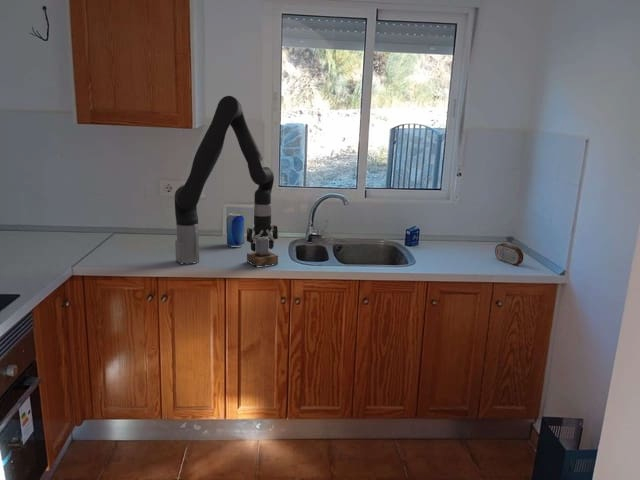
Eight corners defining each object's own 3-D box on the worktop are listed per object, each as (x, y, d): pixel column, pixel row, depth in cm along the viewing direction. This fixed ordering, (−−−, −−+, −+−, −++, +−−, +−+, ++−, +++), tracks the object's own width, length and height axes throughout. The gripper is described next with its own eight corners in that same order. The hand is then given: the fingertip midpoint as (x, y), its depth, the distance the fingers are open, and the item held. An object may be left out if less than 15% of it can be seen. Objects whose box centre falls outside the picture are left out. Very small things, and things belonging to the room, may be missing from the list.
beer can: (235, 249, 259) (235, 216, 255) (223, 246, 264) (222, 214, 260) (247, 245, 266) (247, 214, 262) (235, 242, 271) (235, 211, 267)
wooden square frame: (257, 267, 231) (257, 259, 230) (246, 262, 239) (246, 253, 238) (277, 264, 237) (277, 255, 236) (266, 258, 245) (266, 250, 244)
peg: (260, 265, 236) (260, 240, 233) (255, 262, 239) (255, 238, 236) (268, 263, 238) (268, 239, 235) (263, 261, 241) (263, 237, 238)
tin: (522, 266, 246) (525, 248, 244) (518, 267, 245) (520, 249, 242) (497, 258, 259) (499, 241, 257) (492, 258, 257) (494, 241, 255)
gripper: (252, 217, 226) (252, 254, 230) (281, 213, 234) (280, 249, 238) (243, 213, 231) (243, 250, 235) (272, 210, 240) (272, 245, 244)
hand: (262, 249), depth 237 cm, fingers open, 8 cm apart
